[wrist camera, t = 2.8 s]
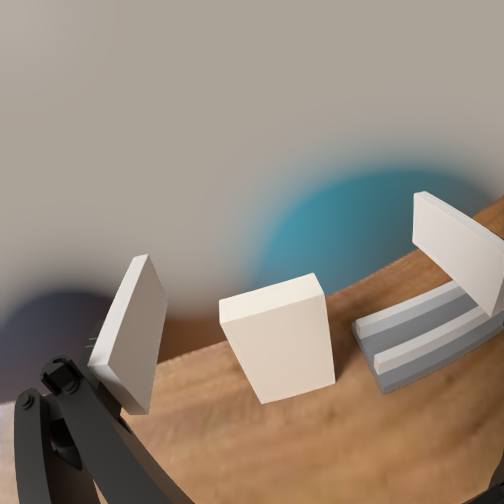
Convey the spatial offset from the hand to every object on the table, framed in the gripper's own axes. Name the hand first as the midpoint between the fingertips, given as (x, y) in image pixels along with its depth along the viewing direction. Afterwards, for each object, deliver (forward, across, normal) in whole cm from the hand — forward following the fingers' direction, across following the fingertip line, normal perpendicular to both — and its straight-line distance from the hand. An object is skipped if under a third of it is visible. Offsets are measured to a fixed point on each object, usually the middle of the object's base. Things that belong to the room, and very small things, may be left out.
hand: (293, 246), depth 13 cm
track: (+12, +22, -26) cm, 35 cm away
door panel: (+12, 0, -27) cm, 29 cm away
